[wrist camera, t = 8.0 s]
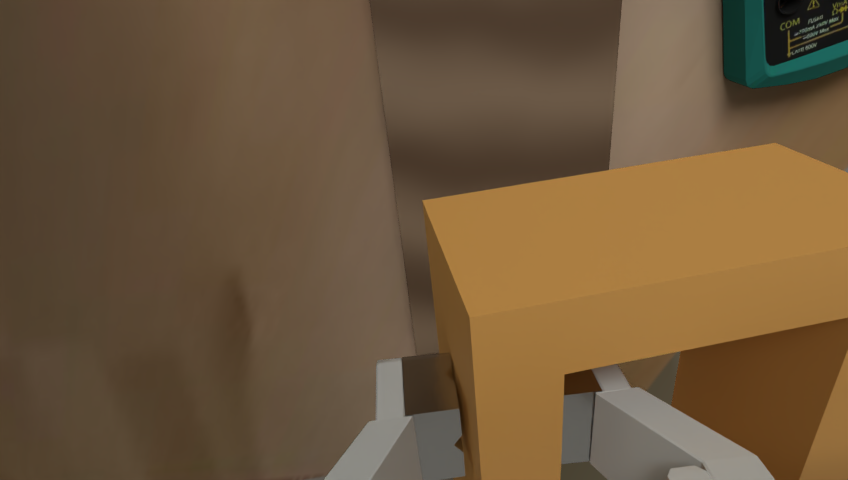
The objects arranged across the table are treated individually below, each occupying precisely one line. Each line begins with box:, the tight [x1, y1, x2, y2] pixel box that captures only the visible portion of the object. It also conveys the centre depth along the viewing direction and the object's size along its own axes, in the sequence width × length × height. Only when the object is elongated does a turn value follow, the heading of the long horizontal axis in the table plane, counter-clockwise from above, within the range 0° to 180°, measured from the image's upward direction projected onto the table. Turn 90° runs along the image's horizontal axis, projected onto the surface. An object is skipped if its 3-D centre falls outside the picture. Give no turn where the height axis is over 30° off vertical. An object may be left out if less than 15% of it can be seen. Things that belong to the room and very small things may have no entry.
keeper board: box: [369, 0, 622, 355], centre depth 20 cm, size 22×10×12 cm, turn 6°
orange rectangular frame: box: [422, 143, 848, 480], centre depth 13 cm, size 14×8×4 cm, turn 6°
